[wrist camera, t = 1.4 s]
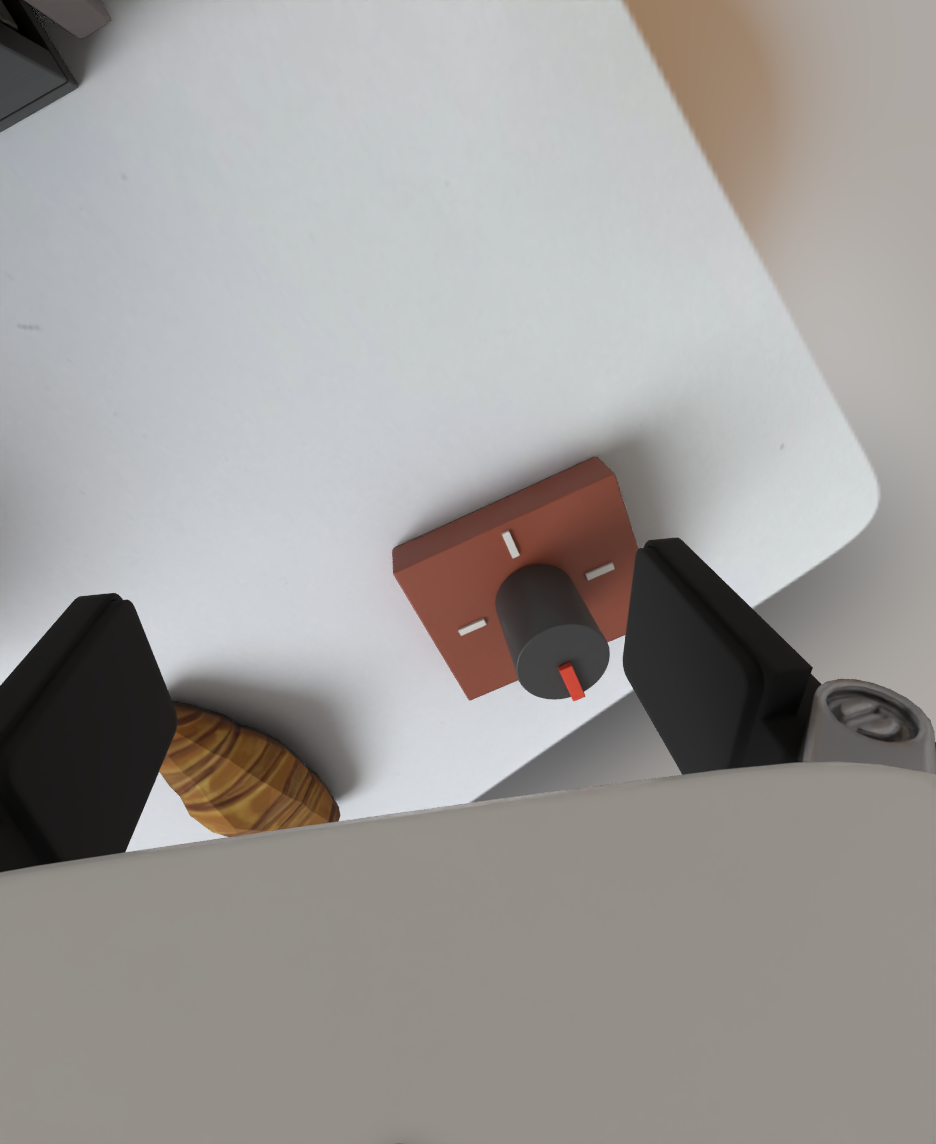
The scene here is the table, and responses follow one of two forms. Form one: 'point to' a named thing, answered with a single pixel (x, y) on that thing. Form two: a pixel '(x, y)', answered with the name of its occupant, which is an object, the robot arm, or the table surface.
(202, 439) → the table surface
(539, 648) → the knob
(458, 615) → the control panel
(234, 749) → the croissant
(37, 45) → the dark wooden box
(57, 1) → the drawer front with handle
